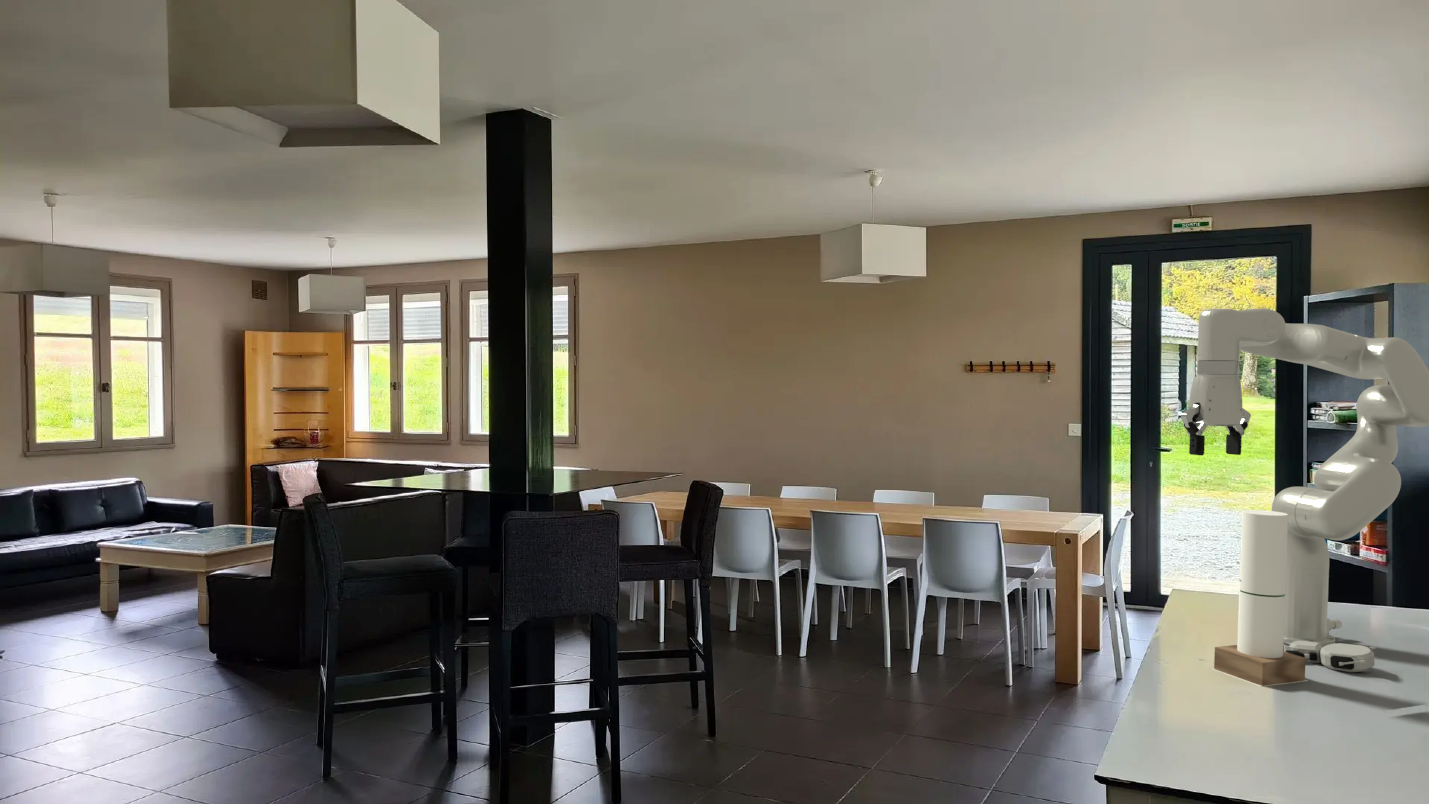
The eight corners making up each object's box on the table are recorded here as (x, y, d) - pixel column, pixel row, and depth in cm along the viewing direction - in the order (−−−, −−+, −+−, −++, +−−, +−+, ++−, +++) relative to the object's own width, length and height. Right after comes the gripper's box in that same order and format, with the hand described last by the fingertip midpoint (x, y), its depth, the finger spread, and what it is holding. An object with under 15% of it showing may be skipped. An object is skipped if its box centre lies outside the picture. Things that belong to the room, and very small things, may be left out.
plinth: (1255, 664, 179) (1256, 642, 179) (1304, 680, 170) (1305, 658, 170) (1214, 669, 176) (1214, 647, 176) (1262, 685, 167) (1262, 662, 167)
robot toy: (1274, 671, 182) (1369, 683, 172) (1272, 646, 182) (1368, 657, 172) (1288, 657, 191) (1380, 668, 181) (1287, 634, 191) (1378, 644, 181)
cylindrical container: (1278, 649, 175) (1282, 511, 175) (1287, 659, 169) (1292, 516, 168) (1234, 644, 178) (1238, 508, 177) (1241, 655, 171) (1245, 514, 170)
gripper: (1234, 371, 203) (1232, 452, 203) (1169, 369, 197) (1167, 453, 197) (1265, 371, 196) (1263, 455, 196) (1199, 369, 190) (1197, 456, 190)
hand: (1215, 454), depth 197 cm, fingers open, 9 cm apart
